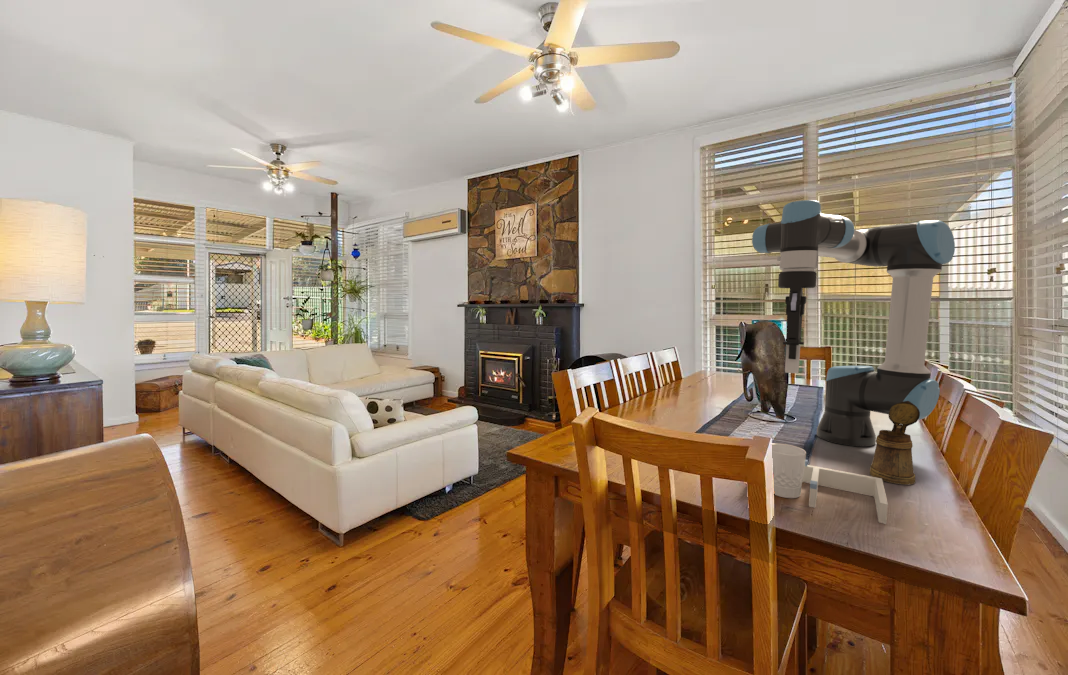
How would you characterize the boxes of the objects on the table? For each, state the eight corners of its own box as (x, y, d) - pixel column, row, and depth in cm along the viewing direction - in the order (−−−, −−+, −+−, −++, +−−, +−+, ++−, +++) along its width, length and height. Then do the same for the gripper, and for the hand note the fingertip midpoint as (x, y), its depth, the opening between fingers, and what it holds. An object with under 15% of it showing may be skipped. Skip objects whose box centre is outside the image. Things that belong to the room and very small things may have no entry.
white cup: (770, 481, 107) (772, 441, 106) (807, 492, 101) (810, 449, 100) (758, 491, 101) (760, 448, 101) (797, 503, 96) (800, 457, 95)
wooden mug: (925, 474, 112) (931, 404, 110) (909, 488, 104) (915, 412, 102) (882, 464, 119) (887, 397, 117) (863, 476, 111) (868, 404, 109)
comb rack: (758, 471, 113) (759, 451, 113) (880, 495, 100) (882, 473, 99) (747, 492, 101) (749, 470, 100) (886, 524, 87) (888, 498, 87)
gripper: (782, 272, 110) (776, 367, 112) (775, 269, 99) (770, 374, 102) (818, 271, 106) (812, 370, 108) (815, 268, 95) (808, 378, 97)
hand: (791, 372), depth 105 cm, fingers closed
